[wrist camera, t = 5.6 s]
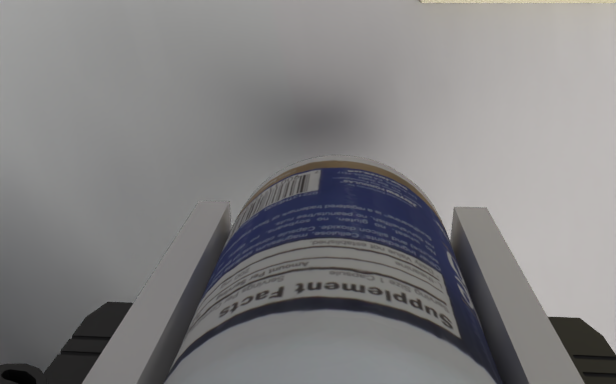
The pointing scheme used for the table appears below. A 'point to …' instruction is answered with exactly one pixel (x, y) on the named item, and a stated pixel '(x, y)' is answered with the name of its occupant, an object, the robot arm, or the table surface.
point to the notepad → (517, 1)
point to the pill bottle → (336, 288)
